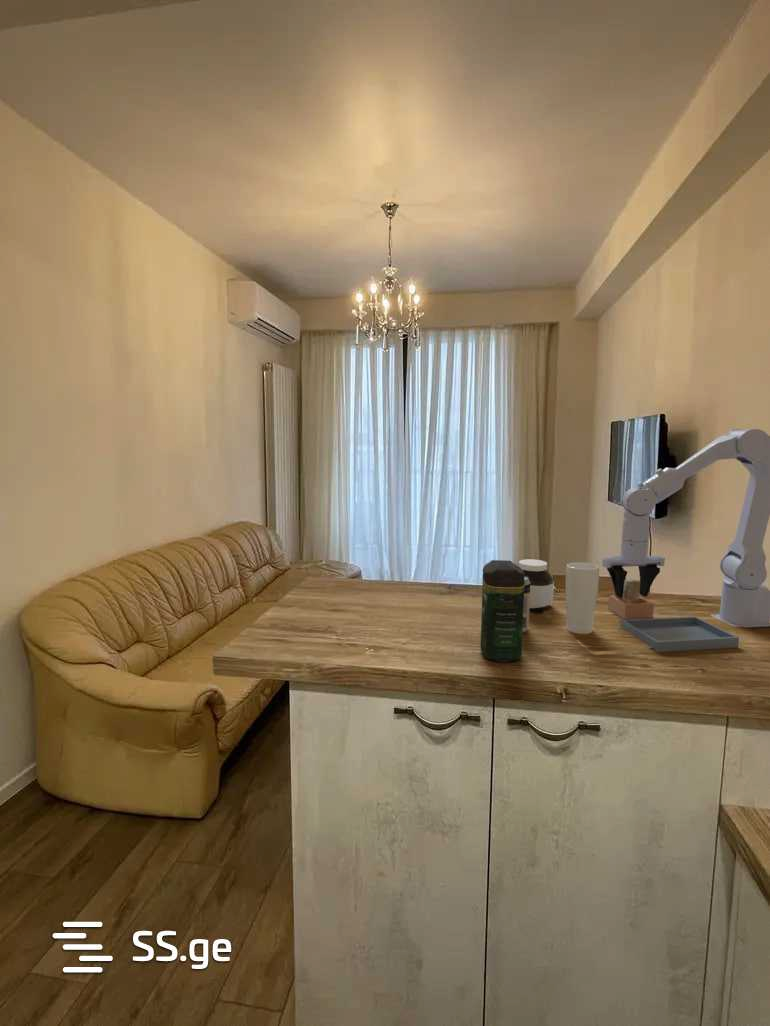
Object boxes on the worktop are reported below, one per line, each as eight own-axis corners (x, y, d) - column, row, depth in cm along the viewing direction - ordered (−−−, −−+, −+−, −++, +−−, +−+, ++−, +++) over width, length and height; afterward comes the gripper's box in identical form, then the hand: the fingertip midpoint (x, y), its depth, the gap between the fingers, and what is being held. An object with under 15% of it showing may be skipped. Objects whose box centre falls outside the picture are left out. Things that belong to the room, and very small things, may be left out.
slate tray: (694, 625, 125) (695, 616, 125) (738, 647, 112) (739, 637, 112) (620, 628, 123) (621, 619, 122) (656, 652, 110) (656, 642, 110)
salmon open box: (635, 610, 135) (636, 594, 135) (652, 619, 128) (653, 603, 128) (608, 611, 134) (609, 595, 134) (624, 621, 127) (625, 604, 127)
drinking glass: (598, 638, 117) (602, 570, 115) (565, 636, 118) (568, 568, 116) (592, 627, 124) (596, 562, 121) (561, 625, 125) (564, 561, 123)
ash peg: (632, 610, 133) (634, 578, 132) (641, 615, 130) (643, 582, 129) (619, 611, 133) (621, 579, 132) (627, 615, 129) (629, 583, 128)
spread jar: (556, 608, 137) (559, 562, 135) (536, 620, 129) (538, 571, 127) (513, 598, 145) (515, 555, 143) (491, 609, 137) (492, 563, 135)
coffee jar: (525, 664, 104) (529, 569, 102) (483, 663, 105) (485, 568, 102) (516, 644, 114) (519, 557, 111) (478, 643, 115) (480, 556, 112)
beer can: (530, 628, 123) (532, 576, 122) (526, 635, 119) (528, 581, 117) (509, 624, 125) (510, 573, 124) (504, 631, 121) (506, 579, 119)
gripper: (653, 535, 133) (649, 589, 135) (597, 537, 132) (593, 592, 134) (672, 541, 126) (667, 598, 129) (612, 543, 125) (609, 600, 127)
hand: (631, 595), depth 131 cm, fingers open, 6 cm apart
